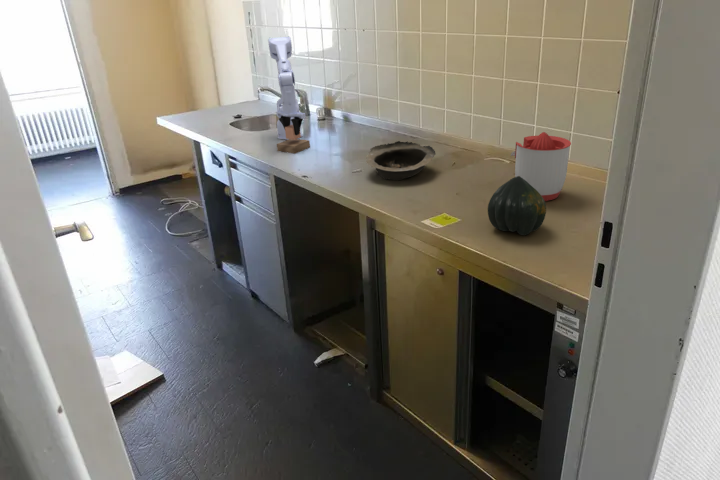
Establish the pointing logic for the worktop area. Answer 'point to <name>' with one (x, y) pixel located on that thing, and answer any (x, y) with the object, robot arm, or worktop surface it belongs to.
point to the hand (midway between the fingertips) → (292, 134)
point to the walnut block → (293, 145)
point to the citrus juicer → (543, 163)
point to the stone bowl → (399, 159)
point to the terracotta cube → (291, 133)
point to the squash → (517, 207)
